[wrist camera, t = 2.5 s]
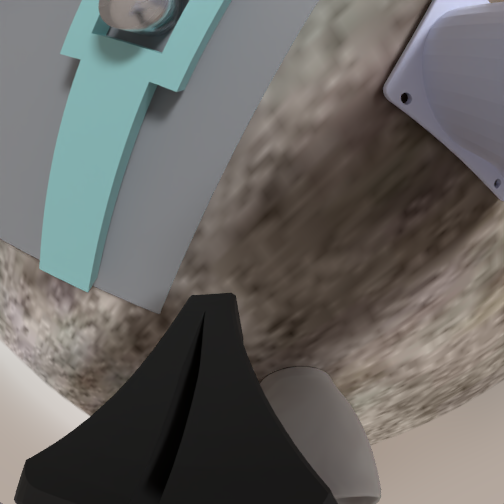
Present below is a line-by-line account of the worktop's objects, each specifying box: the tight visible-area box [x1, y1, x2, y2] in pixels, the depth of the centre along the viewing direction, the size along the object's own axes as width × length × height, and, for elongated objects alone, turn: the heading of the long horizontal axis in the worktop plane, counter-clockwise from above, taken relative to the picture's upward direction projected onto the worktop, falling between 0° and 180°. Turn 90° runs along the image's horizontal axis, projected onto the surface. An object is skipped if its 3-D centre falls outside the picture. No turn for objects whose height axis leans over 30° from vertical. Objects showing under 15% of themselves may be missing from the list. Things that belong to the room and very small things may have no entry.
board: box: [0, 0, 319, 314], centre depth 10 cm, size 17×20×1 cm
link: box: [40, 0, 232, 292], centre depth 10 cm, size 14×5×1 cm, turn 153°
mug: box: [260, 367, 381, 504], centre depth 18 cm, size 12×9×10 cm
